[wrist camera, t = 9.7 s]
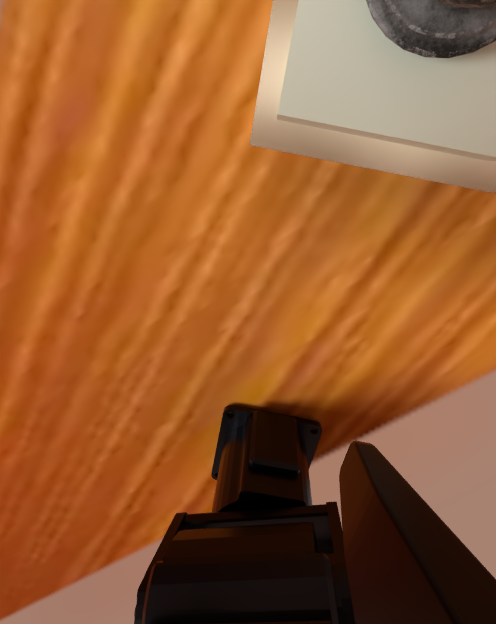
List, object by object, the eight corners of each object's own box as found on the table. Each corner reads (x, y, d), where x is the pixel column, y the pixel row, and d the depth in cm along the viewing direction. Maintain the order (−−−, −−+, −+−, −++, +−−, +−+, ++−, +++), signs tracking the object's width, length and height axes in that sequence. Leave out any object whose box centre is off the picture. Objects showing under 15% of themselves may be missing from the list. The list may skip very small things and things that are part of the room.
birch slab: (466, 187, 18) (494, 193, 16) (252, 145, 18) (249, 145, 16) (591, -115, 14) (656, -169, 11) (306, -175, 13) (312, -243, 11)
